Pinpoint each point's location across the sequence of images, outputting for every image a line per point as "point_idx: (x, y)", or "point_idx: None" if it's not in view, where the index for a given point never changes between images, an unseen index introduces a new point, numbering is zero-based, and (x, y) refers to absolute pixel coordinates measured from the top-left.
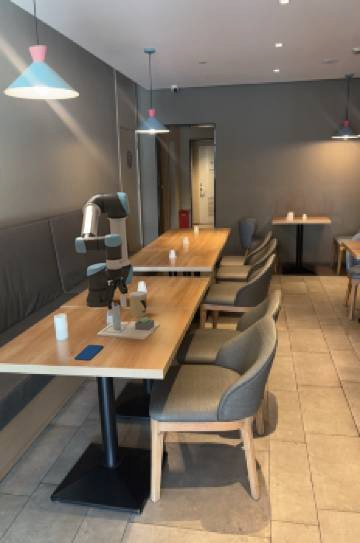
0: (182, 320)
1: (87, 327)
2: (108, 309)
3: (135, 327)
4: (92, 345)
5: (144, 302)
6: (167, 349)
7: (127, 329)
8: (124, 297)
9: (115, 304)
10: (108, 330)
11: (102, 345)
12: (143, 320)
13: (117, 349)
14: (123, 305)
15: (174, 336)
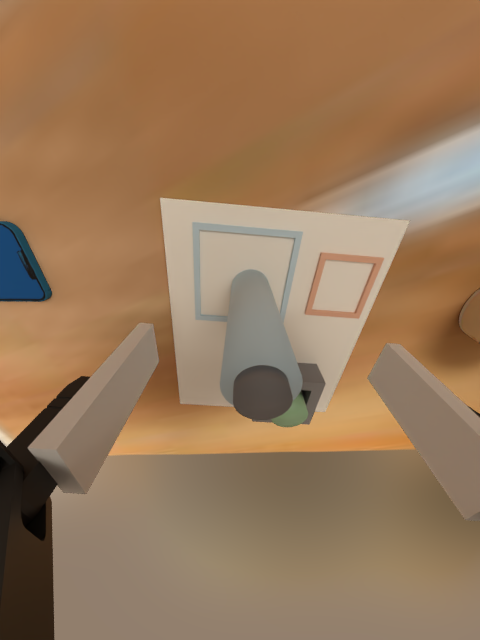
0: (367, 443)
1: (310, 7)
2: (107, 364)
3: None
4: (16, 248)
5: None
6: (136, 450)
7: None
8: (434, 460)
9: (234, 405)
10: (224, 249)
11: (46, 294)
12: None
13: (65, 351)
14: (382, 371)
15: (227, 447)
